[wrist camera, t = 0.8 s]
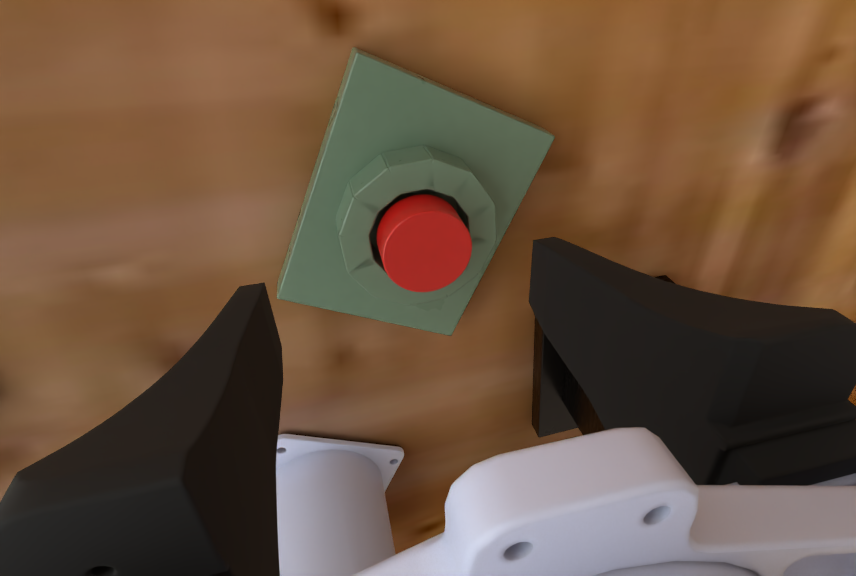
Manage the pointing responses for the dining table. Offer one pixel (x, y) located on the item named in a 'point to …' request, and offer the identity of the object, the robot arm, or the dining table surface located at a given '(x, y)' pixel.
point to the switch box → (404, 190)
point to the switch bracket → (559, 392)
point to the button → (423, 243)
